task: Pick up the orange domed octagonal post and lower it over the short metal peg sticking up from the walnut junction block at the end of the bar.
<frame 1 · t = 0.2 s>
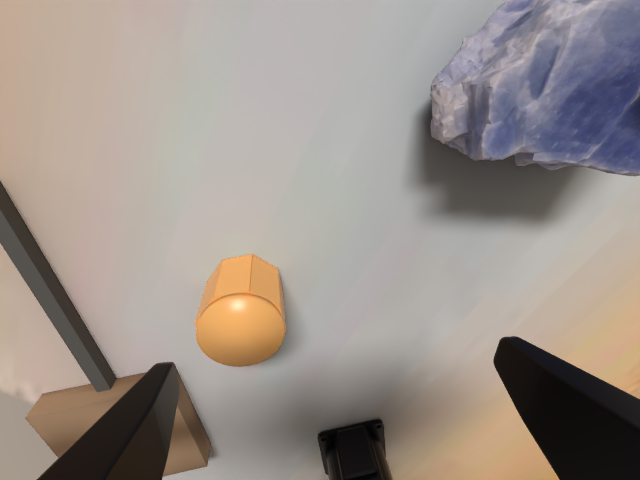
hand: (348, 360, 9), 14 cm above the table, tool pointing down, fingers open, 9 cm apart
mineral: (525, 79, 20), on the table
peg block: (134, 421, 27), on the table
bar: (59, 296, 22), on the table
orange domed octagonal post: (246, 286, 23), on the table
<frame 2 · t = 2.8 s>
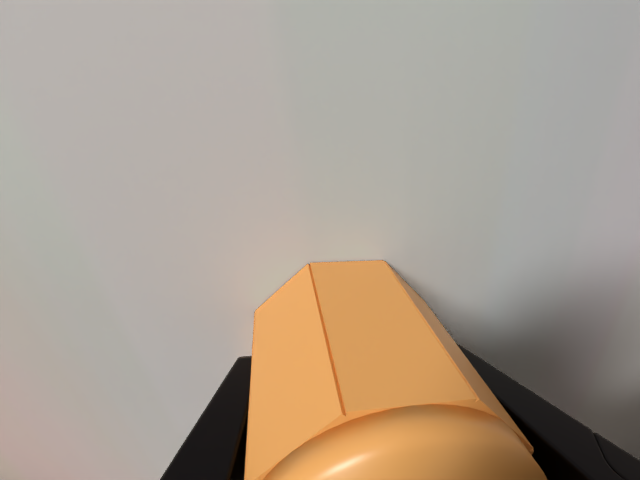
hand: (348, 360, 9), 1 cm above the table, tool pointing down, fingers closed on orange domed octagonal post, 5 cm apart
orange domed octagonal post: (340, 334, 10), on the table, touching gripper
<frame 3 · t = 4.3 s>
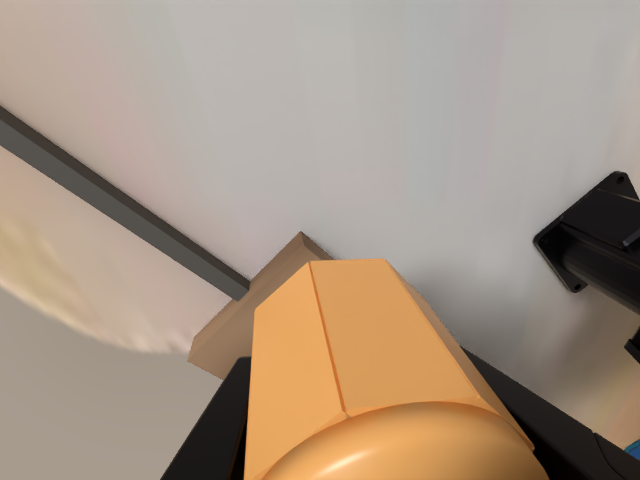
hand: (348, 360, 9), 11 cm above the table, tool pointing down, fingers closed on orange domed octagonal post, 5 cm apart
peg block: (302, 327, 22), on the table
bar: (122, 203, 17), on the table
orange domed octagonal post: (341, 333, 10), point 10 cm above the table, touching gripper
when the fingers open (4 cm above the table, at t = 6.1 s): orange domed octagonal post drops 1 cm, resting on peg block.
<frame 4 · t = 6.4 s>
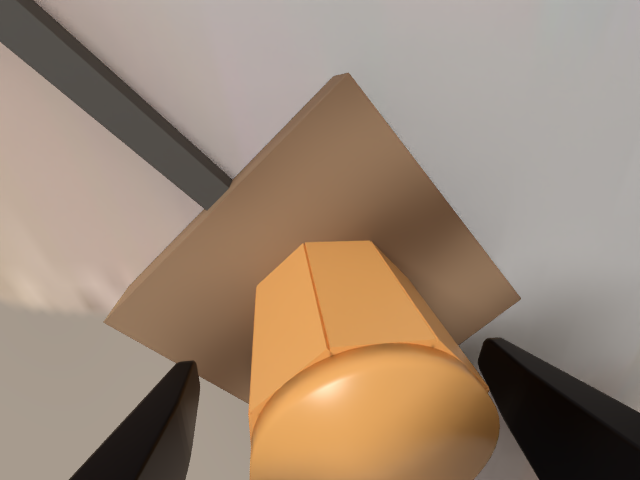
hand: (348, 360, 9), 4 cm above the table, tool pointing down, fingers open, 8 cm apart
peg block: (323, 278, 13), on the table
orange domed octagonal post: (333, 309, 11), point 2 cm above the table, touching peg block
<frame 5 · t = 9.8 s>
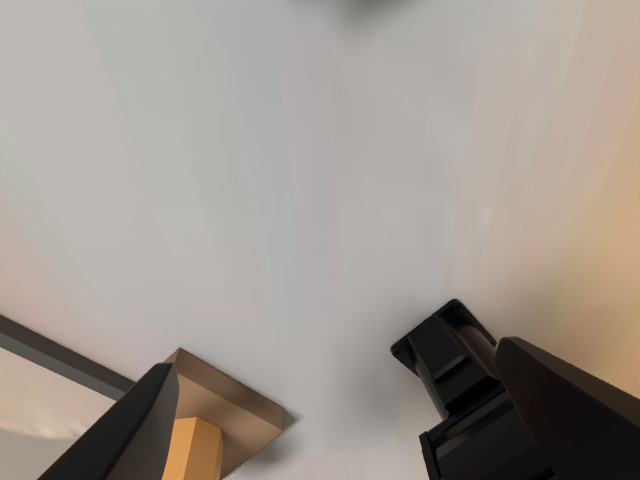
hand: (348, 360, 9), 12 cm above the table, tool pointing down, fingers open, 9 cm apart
peg block: (192, 417, 25), on the table
bar: (19, 332, 20), on the table
orange domed octagonal post: (186, 441, 24), point 2 cm above the table, touching peg block
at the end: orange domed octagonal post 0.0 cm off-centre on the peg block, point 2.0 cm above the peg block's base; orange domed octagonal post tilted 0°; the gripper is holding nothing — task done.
